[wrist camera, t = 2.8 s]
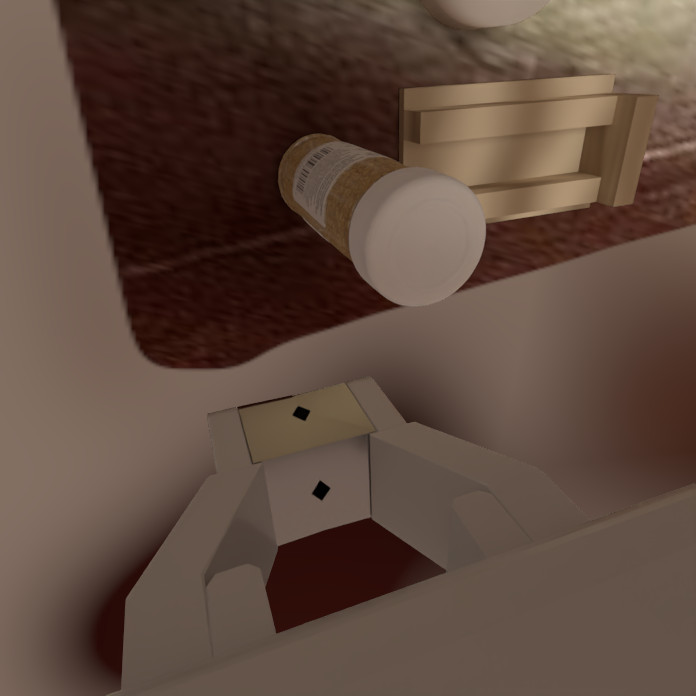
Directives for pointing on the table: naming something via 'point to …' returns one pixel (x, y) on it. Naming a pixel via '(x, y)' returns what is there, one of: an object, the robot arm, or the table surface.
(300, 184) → the sprinkles bottle
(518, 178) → the u rest
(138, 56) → the table surface
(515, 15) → the cream dish
